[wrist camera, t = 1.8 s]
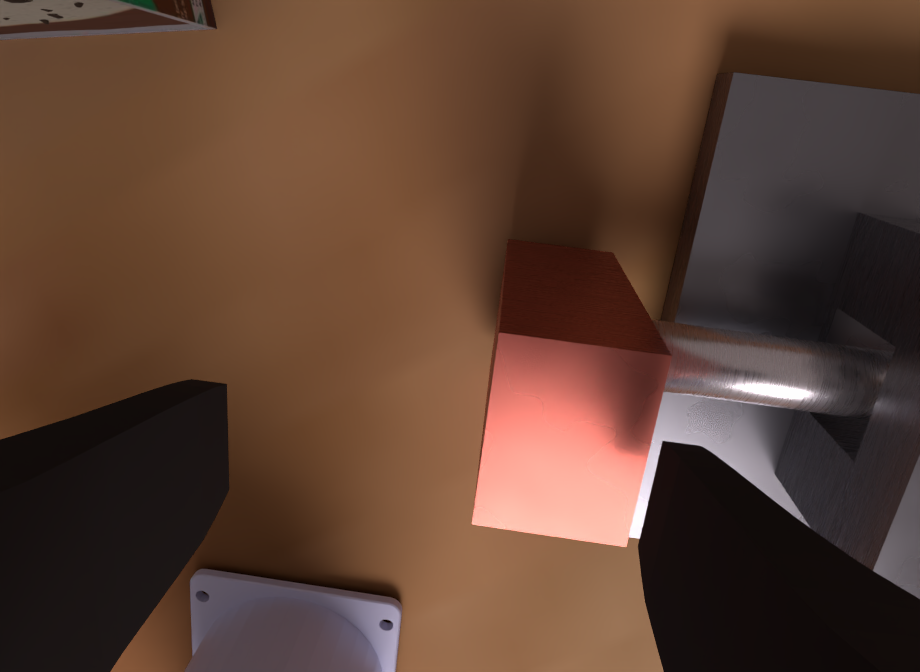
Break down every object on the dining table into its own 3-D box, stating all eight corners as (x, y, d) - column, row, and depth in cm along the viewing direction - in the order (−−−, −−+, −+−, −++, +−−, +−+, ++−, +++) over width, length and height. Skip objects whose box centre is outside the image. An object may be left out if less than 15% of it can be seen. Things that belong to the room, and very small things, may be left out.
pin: (490, 367, 21) (471, 523, 13) (507, 239, 19) (499, 332, 12) (939, 428, 20) (1191, 630, 12) (991, 301, 19) (1310, 442, 11)
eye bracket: (617, 508, 23) (656, 675, 16) (717, 74, 18) (828, 62, 12) (914, 552, 23) (1075, 740, 16) (1098, 118, 18) (1437, 132, 11)
